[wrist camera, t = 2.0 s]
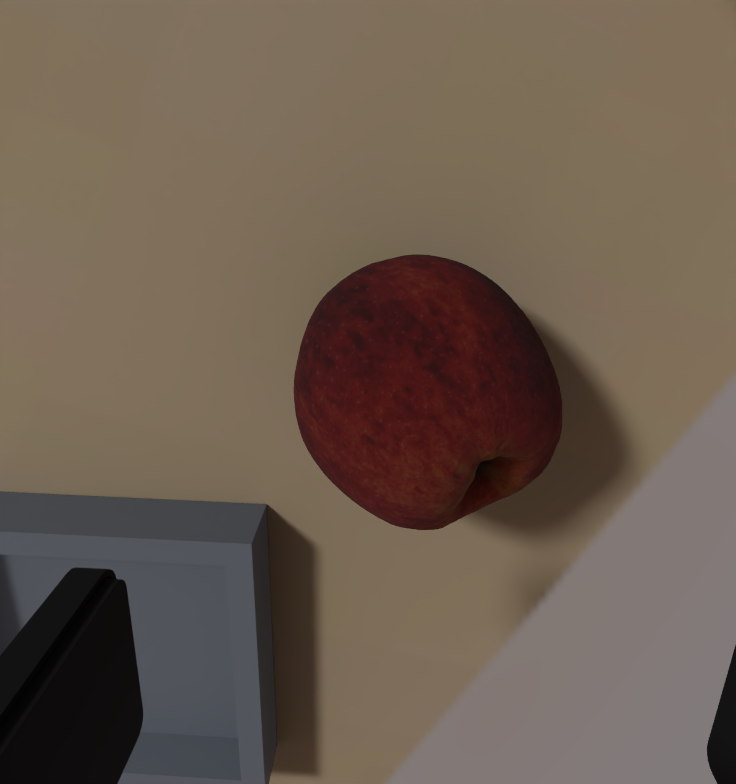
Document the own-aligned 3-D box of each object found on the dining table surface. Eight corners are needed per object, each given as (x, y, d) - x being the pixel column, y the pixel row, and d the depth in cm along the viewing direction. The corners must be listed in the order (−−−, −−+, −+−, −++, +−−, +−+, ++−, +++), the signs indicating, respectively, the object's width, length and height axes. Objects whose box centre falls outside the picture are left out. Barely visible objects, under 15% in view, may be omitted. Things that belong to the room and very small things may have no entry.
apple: (384, 482, 24) (375, 635, 16) (265, 312, 22) (193, 401, 14) (563, 388, 22) (643, 512, 15) (454, 192, 20) (484, 223, 12)
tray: (-58, 489, 25) (-107, 526, 23) (266, 504, 24) (251, 544, 22) (5, 727, 30) (-30, 778, 27) (277, 744, 29) (265, 798, 27)
